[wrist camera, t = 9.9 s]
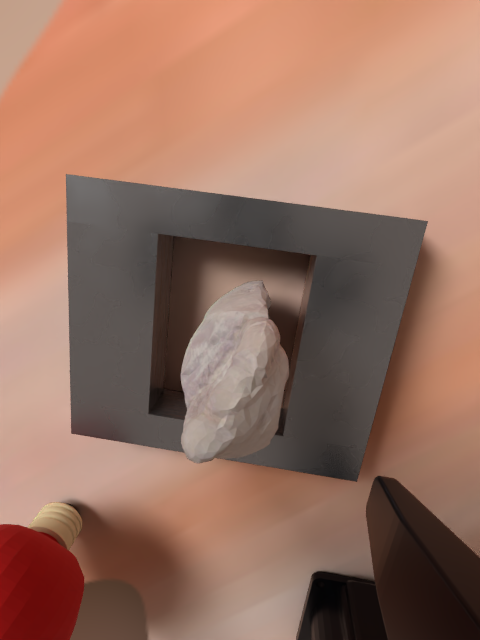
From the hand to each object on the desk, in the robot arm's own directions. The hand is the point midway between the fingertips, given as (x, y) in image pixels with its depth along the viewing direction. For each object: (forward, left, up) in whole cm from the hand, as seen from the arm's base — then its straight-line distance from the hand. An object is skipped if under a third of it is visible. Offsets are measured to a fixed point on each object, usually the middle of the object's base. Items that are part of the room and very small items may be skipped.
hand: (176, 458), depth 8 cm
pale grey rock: (0, -1, -11) cm, 11 cm away
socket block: (0, 0, -10) cm, 10 cm away
